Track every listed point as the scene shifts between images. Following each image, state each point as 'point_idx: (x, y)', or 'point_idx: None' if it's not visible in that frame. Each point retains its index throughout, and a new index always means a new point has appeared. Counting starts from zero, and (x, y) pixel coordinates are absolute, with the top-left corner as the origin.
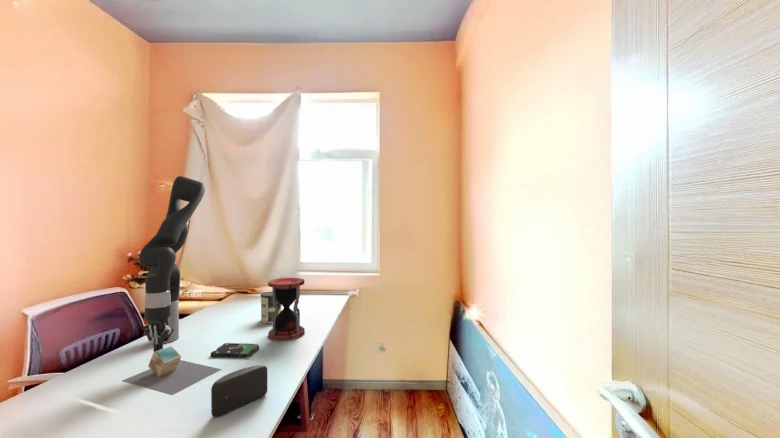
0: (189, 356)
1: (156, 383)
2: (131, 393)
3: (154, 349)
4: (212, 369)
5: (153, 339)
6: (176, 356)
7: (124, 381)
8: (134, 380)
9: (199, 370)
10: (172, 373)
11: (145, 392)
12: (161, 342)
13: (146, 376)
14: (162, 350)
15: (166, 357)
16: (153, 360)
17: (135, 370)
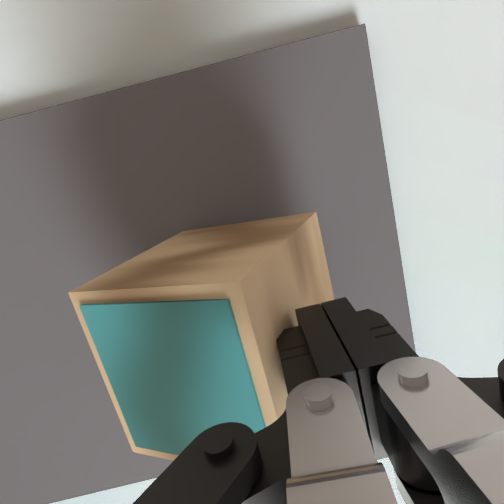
0: (391, 482)
1: (77, 181)
2: (85, 8)
3: (346, 324)
4: (14, 490)
5: (424, 415)
6: (127, 420)
7: (329, 33)
8: (280, 93)
9: (65, 438)
10: None
11: (19, 85)
12: (189, 453)
13: (277, 179)
14: (237, 376)
15: (126, 347)
16: (242, 248)
17: (497, 177)
